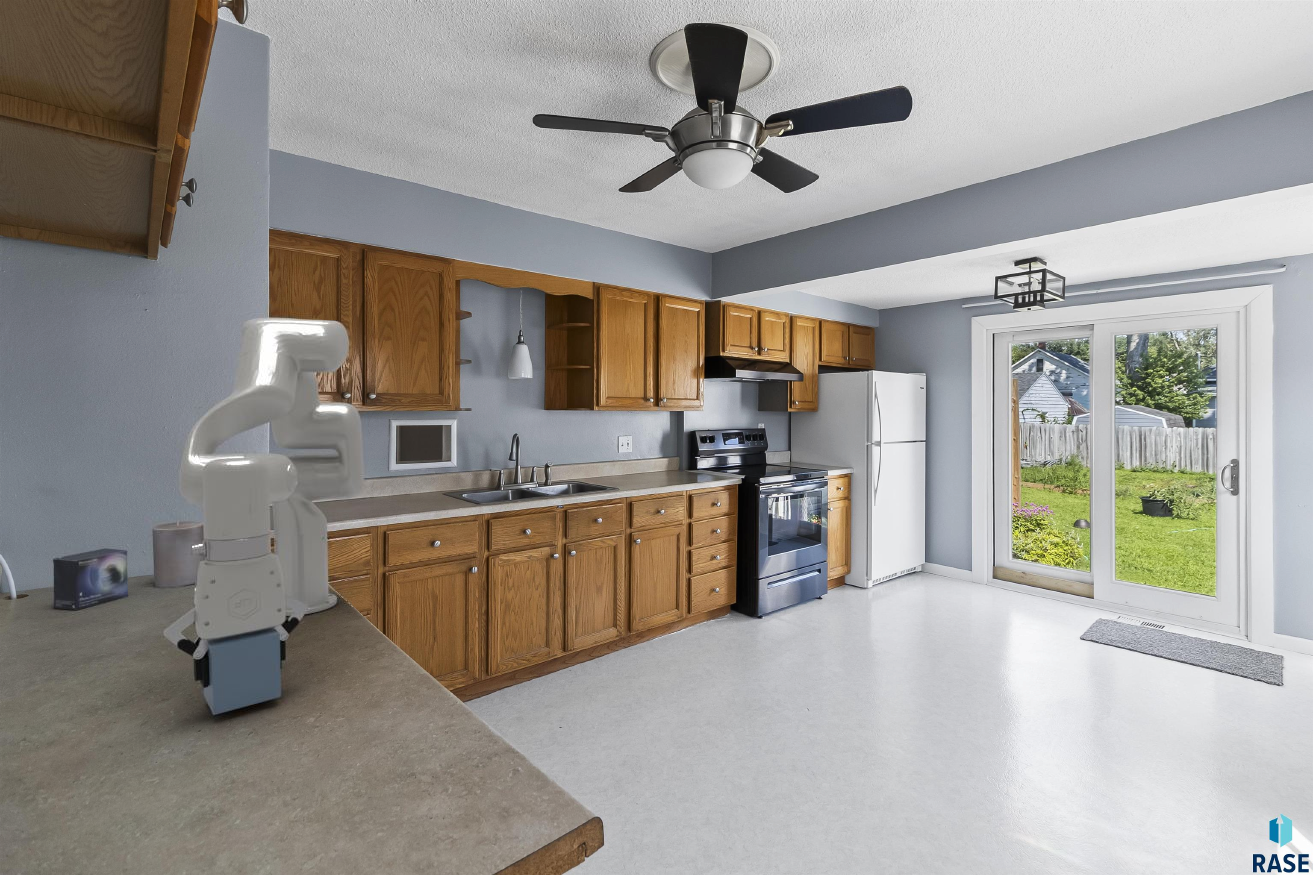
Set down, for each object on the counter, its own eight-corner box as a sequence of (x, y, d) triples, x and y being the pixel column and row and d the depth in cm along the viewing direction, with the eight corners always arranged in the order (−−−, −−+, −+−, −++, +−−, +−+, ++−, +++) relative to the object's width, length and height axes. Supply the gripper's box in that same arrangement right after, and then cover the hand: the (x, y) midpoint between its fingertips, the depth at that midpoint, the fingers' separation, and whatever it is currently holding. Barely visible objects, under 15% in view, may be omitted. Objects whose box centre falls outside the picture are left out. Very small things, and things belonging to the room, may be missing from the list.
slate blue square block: (203, 695, 87) (202, 632, 86) (267, 679, 92) (266, 619, 92) (213, 714, 81) (211, 647, 81) (281, 696, 86) (279, 633, 86)
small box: (77, 611, 127) (75, 560, 127) (51, 609, 129) (49, 558, 128) (130, 596, 138) (128, 548, 137) (106, 594, 139) (104, 547, 139)
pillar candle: (169, 578, 153) (166, 516, 152) (213, 575, 155) (211, 515, 154) (144, 589, 143) (141, 524, 142) (192, 587, 145) (189, 522, 144)
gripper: (160, 563, 77) (165, 704, 78) (316, 543, 89) (319, 665, 90) (154, 553, 83) (158, 685, 83) (301, 536, 95) (304, 651, 95)
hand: (241, 674), depth 87 cm, fingers closed on slate blue square block, 7 cm apart
